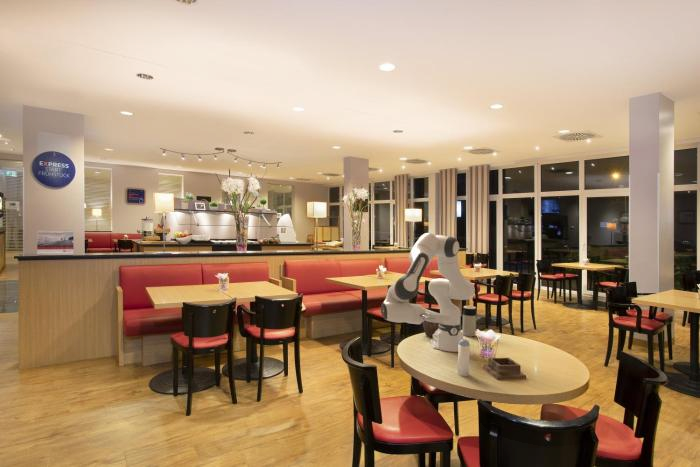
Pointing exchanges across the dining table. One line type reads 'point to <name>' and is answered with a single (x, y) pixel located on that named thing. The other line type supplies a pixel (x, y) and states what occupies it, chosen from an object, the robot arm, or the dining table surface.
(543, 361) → the dining table surface
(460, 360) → the white bottle
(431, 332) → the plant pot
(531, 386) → the dining table surface
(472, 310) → the travel mug
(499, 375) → the cradle
